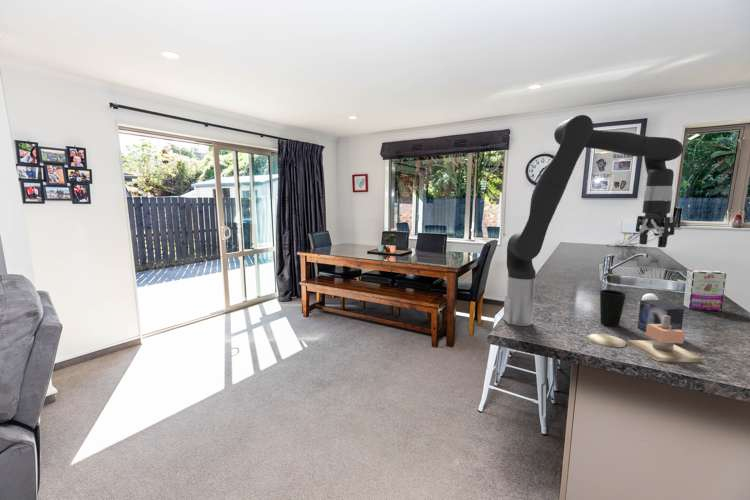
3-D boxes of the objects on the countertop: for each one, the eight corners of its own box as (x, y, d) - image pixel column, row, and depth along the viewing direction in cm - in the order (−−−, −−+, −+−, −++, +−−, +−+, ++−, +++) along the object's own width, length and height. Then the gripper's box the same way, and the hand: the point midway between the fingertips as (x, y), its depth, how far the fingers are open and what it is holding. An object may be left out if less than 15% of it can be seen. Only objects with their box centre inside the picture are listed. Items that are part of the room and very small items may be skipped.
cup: (626, 328, 118) (630, 295, 117) (602, 327, 120) (606, 294, 118) (615, 321, 126) (619, 290, 124) (593, 319, 127) (596, 289, 126)
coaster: (600, 346, 103) (600, 345, 103) (582, 334, 113) (582, 333, 113) (633, 347, 102) (634, 346, 102) (612, 335, 112) (612, 334, 112)
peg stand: (657, 361, 94) (661, 322, 92) (627, 343, 105) (630, 309, 104) (701, 362, 93) (707, 323, 92) (666, 344, 105) (670, 310, 103)
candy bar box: (713, 308, 143) (719, 270, 141) (721, 311, 138) (727, 272, 136) (681, 305, 146) (686, 269, 144) (688, 309, 142) (693, 271, 140)
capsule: (655, 315, 133) (657, 296, 132) (638, 312, 137) (640, 293, 136) (658, 313, 136) (660, 293, 135) (642, 309, 140) (644, 291, 139)
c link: (661, 342, 96) (662, 331, 95) (645, 334, 102) (646, 323, 101) (683, 343, 96) (684, 331, 95) (666, 335, 101) (667, 324, 101)
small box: (635, 327, 120) (638, 299, 118) (652, 327, 120) (655, 299, 119) (663, 339, 109) (667, 308, 108) (681, 339, 110) (685, 308, 108)
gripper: (631, 200, 124) (627, 243, 126) (662, 199, 110) (657, 248, 112) (652, 200, 123) (647, 243, 126) (686, 199, 109) (680, 248, 111)
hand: (652, 245), depth 119 cm, fingers open, 8 cm apart
